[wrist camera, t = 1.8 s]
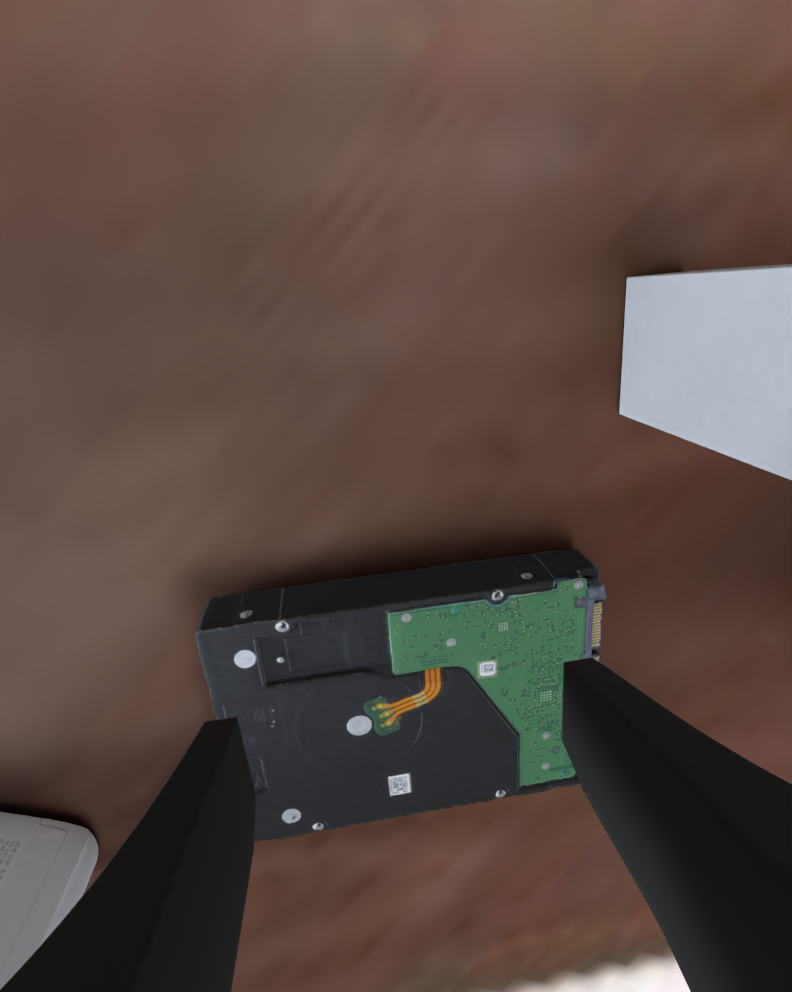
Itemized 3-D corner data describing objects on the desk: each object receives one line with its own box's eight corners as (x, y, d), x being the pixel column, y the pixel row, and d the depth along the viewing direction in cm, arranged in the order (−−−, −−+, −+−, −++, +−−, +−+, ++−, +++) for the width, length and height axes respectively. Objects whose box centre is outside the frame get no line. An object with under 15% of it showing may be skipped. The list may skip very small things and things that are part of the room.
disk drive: (254, 790, 24) (572, 736, 26) (246, 850, 22) (600, 786, 23) (204, 590, 21) (578, 538, 22) (187, 633, 18) (612, 571, 19)
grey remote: (690, 270, 19) (987, 249, 11) (677, 407, 21) (925, 481, 12) (626, 277, 19) (877, 260, 10) (618, 414, 20) (828, 496, 12)
